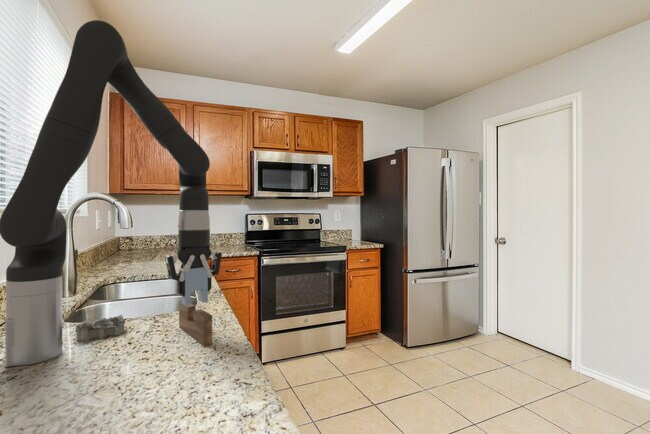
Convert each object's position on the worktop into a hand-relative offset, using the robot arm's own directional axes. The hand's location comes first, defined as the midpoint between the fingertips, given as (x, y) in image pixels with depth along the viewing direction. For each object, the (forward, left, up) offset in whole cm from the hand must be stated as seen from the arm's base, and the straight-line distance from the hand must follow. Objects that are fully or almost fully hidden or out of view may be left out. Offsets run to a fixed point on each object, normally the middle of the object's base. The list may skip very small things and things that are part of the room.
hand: (194, 293), depth 86 cm
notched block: (0, 0, -2) cm, 2 cm away
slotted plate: (0, 0, -11) cm, 11 cm away
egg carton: (-18, +17, -11) cm, 28 cm away
